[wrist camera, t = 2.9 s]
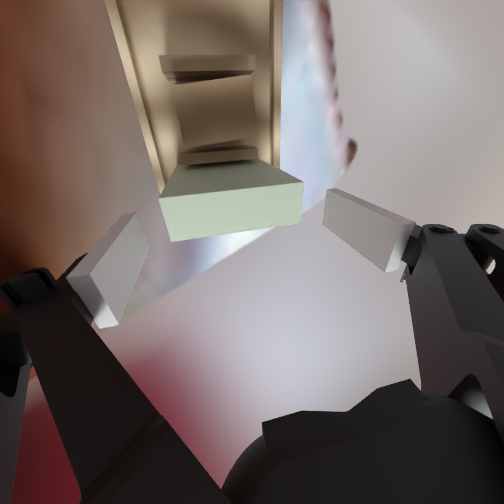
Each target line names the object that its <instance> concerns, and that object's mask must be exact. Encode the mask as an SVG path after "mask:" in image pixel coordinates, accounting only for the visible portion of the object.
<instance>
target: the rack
mask: <svg viewBox="0 0 504 504" xmlns="http://www.w3.org/2000/svg"><path fill="white" fill-rule="evenodd" d="M104 1H105V4H106V7H107V11H108V14H109V18H110V21H111V25H112V28H113V32H114V35H115V39H116V42H117V46H118V49H119V52H120V56H121V59H122V63H123V66H124V70H125V73H126V77H127V80H128V84H129V87H130V90H131V94H132V97H133V101H134V104H135V108H136V111H137V115H138V118H139V122H140V125H141V129H142V132H143V135H144V139H145V142H146V146H147V149H148V153H149V156H150V160H151V163H152V167H153V170H154V173H155V177H156V180H157V184H158V187H159V191H160V194H161V193H162V191H163V189H164V187H165V186H166V184H167V182H168V180H169V178H170V177H171V175H172V173H173V171H174V169H175V167H176V166H177V165H178V164H182V165H191V164H202V163H213V162H225V161H236V160H247V159H258V158H259V159H261V160H263V161H265V162H267V163H269V164H271V165H273V166H274V167H276V168H278V169H280V117H281V63H282V8H283V0H104ZM250 74H251V76H252V85H253V95H254V104H255V113H256V123H257V132H258V136H254V137H251V138H243V139H237V140H232V141H226V142H220V143H215V144H209V145H203V146H197V147H192V148H186V144H185V143H184V142H183V137H182V133H181V128H180V123H179V119H178V116H177V112H176V109H175V105H174V101H173V98H172V94H171V91H170V87H169V86H172V85H179V84H186V83H193V82H201V81H208V80H215V79H222V78H229V77H236V76H243V75H250Z"/></svg>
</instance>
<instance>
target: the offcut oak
mask: <svg viewBox="0 0 504 504" xmlns="http://www.w3.org/2000/svg"><path fill="white" fill-rule="evenodd" d="M169 87H170V91H171V94H172V98H173V101H174V105H175V109H176V112H177V116H178V119H179V123H180V126H181V130H182V134H183V137H184V141H185V144H186V148H192V147H197V146H203V145H209V144H215V143H220V142H226V141H232V140H237V139H243V138H249V137H254V136H258V132H257V123H256V113H255V104H254V95H253V85H252V76H251V74H250V75H243V76H236V77H229V78H222V79H215V80H208V81H201V82H193V83H186V84H179V85H172V86H169Z"/></svg>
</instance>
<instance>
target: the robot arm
mask: <svg viewBox="0 0 504 504" xmlns="http://www.w3.org/2000/svg"><path fill="white" fill-rule="evenodd" d="M322 224H323V225H324V226H325V227H327V228H328V229H329V230H330V231H332V232H333V233H334V234H336V235H337V236H338V237H340V238H341V239H342V240H343V241H345V242H346V243H347V244H349V245H350V246H351V247H353V248H354V249H355V250H356V251H358V252H359V253H360V254H362V255H363V256H364V257H366V258H367V259H368V260H369V261H371V262H372V263H373V264H375V265H376V266H377V267H378V268H380V269H381V270H382V271H384V272H389V271H395V270H397V269H398V267H399V264H400V262H401V260H402V261H404V262H405V263H407V265H406V268H405V270H404V272H403V275H402V277H401V280H400V282H403V280H405V279H406V284H407V290H408V297H409V304H410V310H411V317H412V323H413V331H414V337H415V344H416V351H417V357H418V364H419V371H420V378H421V391H420V390H419V388H418V387H417V386H416V385H415V384H414V383H413V381H412V380H411V379H408V380H404V381H401V382H397V383H394V384H390V385H387V386H384V387H380V388H377V389H376V390H375V391H373V392H372V393H371V394H370V395H368V396H367V397H366V398H365V399H363V400H362V401H361V402H359V403H358V404H357V405H356V406H354V407H353V408H352V409H350V410H349V411H346V412H329V411H299V412H296V413H293V414H289V415H286V416H282V417H279V418H275V419H272V420H269V421H265V422H262V429H263V430H262V431H263V435H262V436H260V437H259V438H257V439H256V440H255V441H254V442H253V443H252V444H250V445H249V446H248V447H247V448H246V449H245V451H244V452H243V453H242V454H241V456H240V457H239V458H238V459H237V461H236V462H235V464H234V465H233V467H232V469H231V470H230V472H229V474H228V476H227V478H226V480H225V482H224V484H223V486H222V488H221V489H220V488H219V486H218V485H217V484H216V483H215V481H214V480H213V479H212V478H211V476H210V475H209V474H208V472H207V471H206V470H205V469H204V467H203V466H202V465H201V464H200V462H199V461H198V460H197V458H196V457H195V456H194V455H193V454H192V452H191V451H190V450H189V448H188V447H187V446H186V445H185V444H184V442H183V441H182V439H181V438H180V437H179V436H178V434H177V433H176V432H175V431H174V429H173V428H172V427H171V426H170V424H169V423H168V422H167V421H166V419H165V418H164V417H163V416H162V415H160V414H159V412H158V411H157V410H156V409H155V407H154V406H153V405H152V404H151V402H150V401H149V400H148V399H147V397H146V396H145V395H144V393H143V392H142V391H141V390H140V388H139V387H138V386H137V384H136V383H135V382H134V380H133V379H132V378H131V377H130V375H129V374H128V373H127V372H126V370H125V369H124V368H123V366H122V365H121V364H120V363H119V361H118V360H117V359H116V357H115V356H114V355H113V354H112V352H111V351H110V350H109V348H108V347H107V346H106V345H105V343H104V342H103V341H102V340H101V338H100V337H99V336H98V334H97V333H96V332H95V331H94V329H93V328H92V327H91V323H92V321H93V319H94V321H95V322H96V324H97V325H98V327H99V328H100V329H101V328H106V327H111V326H116V325H119V324H120V322H121V319H122V317H123V314H124V312H125V309H126V307H127V305H128V302H129V300H130V297H131V295H132V292H133V290H134V288H135V285H136V283H137V280H138V278H139V275H140V273H141V271H142V268H143V266H144V263H145V261H146V258H147V256H148V254H149V251H150V248H149V245H148V242H147V240H146V237H145V234H144V231H143V229H142V226H141V223H140V220H139V218H138V215H137V212H134V213H126V214H123V215H122V216H121V217H120V218H119V219H118V221H117V222H116V223H115V224H114V225H113V226H112V227H111V228H110V229H109V231H108V232H107V233H106V234H105V235H104V236H103V237H102V238H101V239H100V241H99V242H98V243H97V244H96V245H95V246H94V247H93V248H92V249H91V250H90V252H89V253H86V254H84V255H83V256H81V257H79V258H78V259H76V260H75V261H74V263H73V264H72V265H71V267H69V268H68V269H67V270H66V272H64V273H63V274H62V275H61V276H60V277H59V278H58V279H57V280H55V279H54V277H53V276H52V274H51V273H50V271H49V270H48V269H46V268H33V269H28V270H25V271H22V272H19V273H17V274H15V275H12V276H10V277H8V278H6V279H5V280H3V281H1V282H0V297H1V298H2V299H3V300H4V301H5V302H6V303H7V304H8V305H9V306H10V307H11V309H12V310H13V311H10V312H7V313H4V314H1V315H0V504H11V498H12V491H13V484H14V477H15V470H16V463H17V456H18V449H19V442H20V435H21V428H22V421H23V414H24V406H25V400H26V393H27V386H28V379H29V372H30V365H31V363H33V366H34V368H35V371H36V374H37V376H38V379H39V381H40V384H41V387H42V389H43V392H44V395H45V397H46V400H47V403H48V405H49V408H50V411H51V413H52V416H53V418H54V421H55V424H56V426H57V429H58V431H59V434H60V437H61V439H62V442H63V445H64V447H65V450H66V453H67V455H68V458H69V461H70V463H71V466H72V469H73V471H74V473H75V476H76V479H77V481H78V484H79V487H80V491H81V501H80V502H79V504H504V229H502V228H500V227H498V226H495V225H491V224H473V225H471V226H470V228H469V230H468V232H467V233H466V234H458V233H457V231H455V230H454V229H453V228H450V227H447V226H444V225H440V224H426V225H423V226H422V227H421V226H418V225H416V222H414V221H411V220H409V219H407V218H404V217H402V216H400V215H397V214H395V213H393V212H390V211H388V210H386V209H383V208H381V207H379V206H376V205H374V204H372V203H369V202H367V201H364V200H362V199H360V198H358V197H355V196H353V195H351V194H348V193H346V192H344V191H342V190H339V189H336V188H335V189H327V193H326V201H325V208H324V216H323V223H322ZM493 259H494V260H495V263H496V264H495V268H494V270H493V272H492V273H491V274H488V273H487V272H486V270H487V268H488V267H489V265H490V264H491V262H492V261H493Z"/></svg>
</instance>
